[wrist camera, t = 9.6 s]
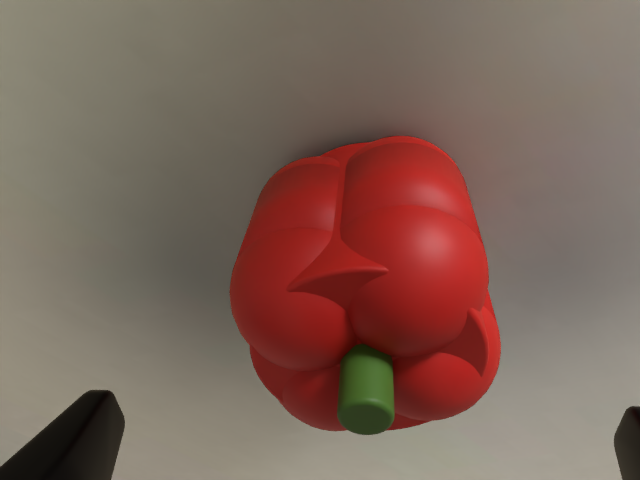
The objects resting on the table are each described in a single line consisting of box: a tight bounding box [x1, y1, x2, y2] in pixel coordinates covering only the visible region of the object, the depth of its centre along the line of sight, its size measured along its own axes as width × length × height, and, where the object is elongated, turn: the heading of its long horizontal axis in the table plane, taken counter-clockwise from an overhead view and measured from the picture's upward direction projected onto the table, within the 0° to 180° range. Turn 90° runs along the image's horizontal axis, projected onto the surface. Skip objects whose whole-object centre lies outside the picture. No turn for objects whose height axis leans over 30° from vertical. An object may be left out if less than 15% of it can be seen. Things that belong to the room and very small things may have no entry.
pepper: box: [230, 136, 501, 435], centre depth 12 cm, size 6×6×7 cm
